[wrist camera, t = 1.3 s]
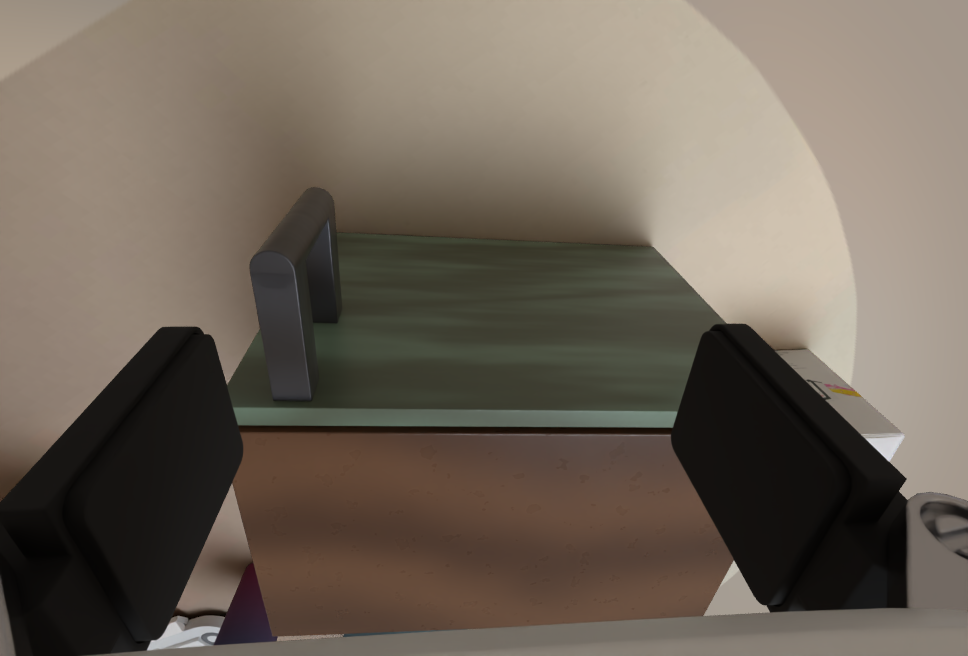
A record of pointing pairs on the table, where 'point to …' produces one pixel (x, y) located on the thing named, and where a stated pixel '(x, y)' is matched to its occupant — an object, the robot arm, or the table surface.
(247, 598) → the cup
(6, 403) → the table surface
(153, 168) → the table surface
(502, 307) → the cupboard door
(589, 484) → the cupboard
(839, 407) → the ink box
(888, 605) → the robot arm
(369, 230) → the table surface
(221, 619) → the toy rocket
